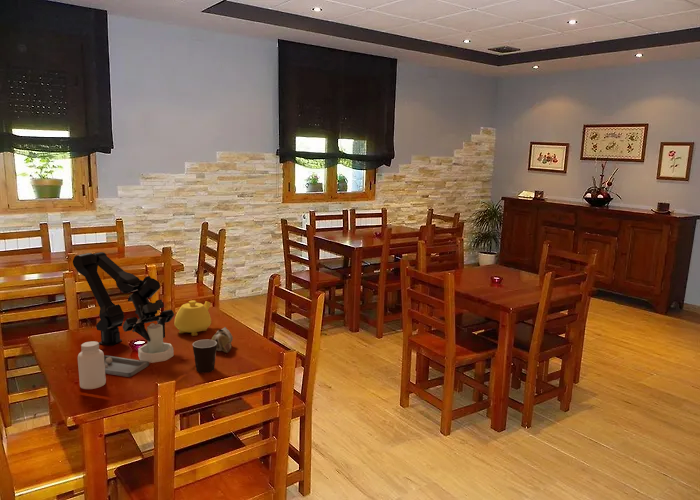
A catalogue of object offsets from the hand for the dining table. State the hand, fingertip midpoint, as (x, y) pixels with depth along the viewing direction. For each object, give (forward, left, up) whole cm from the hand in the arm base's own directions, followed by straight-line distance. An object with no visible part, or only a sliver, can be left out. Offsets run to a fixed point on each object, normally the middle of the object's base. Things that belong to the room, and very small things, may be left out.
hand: (156, 339), depth 204 cm
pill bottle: (-6, -27, -8) cm, 29 cm away
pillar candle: (-1, +1, -6) cm, 6 cm away
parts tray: (-8, -13, -8) cm, 17 cm away
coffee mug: (+22, -1, -8) cm, 23 cm away
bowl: (-1, +1, -8) cm, 8 cm away
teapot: (-4, +35, -8) cm, 36 cm away
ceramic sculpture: (+18, +17, -8) cm, 26 cm away
